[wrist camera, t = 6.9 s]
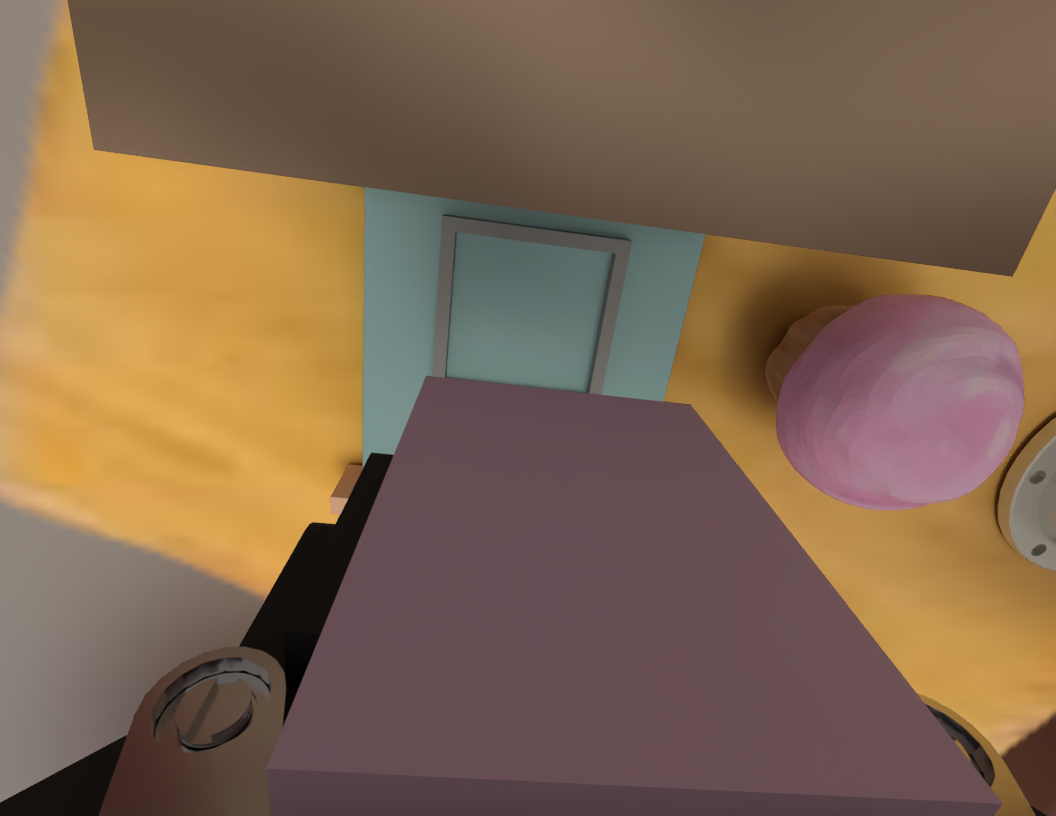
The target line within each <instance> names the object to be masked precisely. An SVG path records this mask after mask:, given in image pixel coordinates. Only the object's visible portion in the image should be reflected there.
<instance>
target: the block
mask: <svg viewBox="0 0 1056 816" xmlns="http://www.w3.org/2000/svg"><path fill="white" fill-rule="evenodd" d="M266 773H267V783H268V792H269V802H270V811H271V816H994V815H995V813H996V812H997V811H998V810H999V808H1000V807H1001V806H1002V805H1003V803H1002V802H1001V801H1000V799H999V798H998V797H997V795H996V794H995V793H994V792H993V790H992V789H991V788H990V787H989V785H988V784H987V783H986V781H985V780H984V779H983V778H982V776H981V775H980V774H979V772H978V771H977V770H976V769H975V767H974V766H973V765H972V764H971V762H970V761H969V760H968V758H967V757H966V756H965V755H964V753H963V752H962V751H961V749H960V748H959V747H958V746H957V744H956V743H955V742H954V741H953V739H952V738H951V737H950V735H949V734H948V733H947V732H946V730H945V729H944V728H943V727H942V725H941V724H940V723H939V721H938V720H937V719H936V718H935V716H934V715H933V714H932V712H931V711H930V710H929V709H928V707H927V706H926V705H925V704H924V702H923V701H922V700H921V698H920V697H919V696H918V695H917V693H916V692H915V691H914V689H913V688H912V687H911V686H910V684H909V683H908V682H907V681H906V679H905V678H904V677H903V675H902V674H901V673H900V672H899V670H898V669H897V668H896V666H895V665H894V664H893V663H892V661H891V660H890V659H889V658H888V656H887V655H886V654H885V652H884V651H883V650H882V649H881V647H880V646H879V645H878V643H877V642H876V641H875V640H874V638H873V637H872V636H871V635H870V633H869V632H868V631H867V629H866V628H865V627H864V626H863V624H862V623H861V622H860V621H859V619H858V618H857V617H856V615H855V614H854V613H853V612H852V610H851V609H850V608H849V606H848V605H847V604H846V603H845V601H844V600H843V599H842V598H841V596H840V595H839V594H838V592H837V591H836V590H835V589H834V587H833V586H832V585H831V583H830V582H829V581H828V580H827V578H826V577H825V576H824V575H823V573H822V572H821V571H820V569H819V568H818V567H817V566H816V564H815V563H814V562H813V560H812V559H811V558H810V557H809V555H808V554H807V553H806V552H805V550H804V549H803V548H802V546H801V545H800V544H799V543H798V541H797V540H796V539H795V537H794V536H793V535H792V534H791V532H790V531H789V530H788V529H787V527H786V526H785V525H784V523H783V522H782V521H781V520H780V518H779V517H778V516H777V515H776V513H775V512H774V511H773V509H772V508H771V507H770V506H769V504H768V503H767V502H766V500H765V499H764V498H763V497H762V495H761V494H760V493H759V492H758V490H757V489H756V488H755V486H754V485H753V484H752V483H751V481H750V480H749V479H748V477H747V476H746V475H745V474H744V472H743V471H742V470H741V469H740V467H739V466H738V465H737V463H736V462H735V461H734V460H733V458H732V457H731V456H730V454H729V453H728V452H727V451H726V449H725V448H724V447H723V446H722V444H721V443H720V442H719V440H718V439H717V438H716V437H715V435H714V434H713V433H712V432H711V430H710V429H709V428H708V426H707V425H706V424H705V423H704V421H703V420H702V419H701V417H700V416H699V415H698V414H697V412H696V411H695V410H694V409H693V407H692V406H691V405H690V404H681V403H672V402H663V401H653V400H644V399H635V398H626V397H617V396H608V395H599V394H590V393H581V392H571V391H562V390H553V389H544V388H535V387H526V386H517V385H508V384H499V383H489V382H480V381H471V380H462V379H453V378H444V377H435V376H426V377H425V380H424V382H423V385H422V387H421V389H420V392H419V394H418V397H417V399H416V402H415V404H414V407H413V409H412V412H411V414H410V416H409V419H408V421H407V424H406V426H405V429H404V431H403V434H402V436H401V439H400V441H399V443H398V446H397V448H396V451H395V453H394V456H393V458H392V461H391V463H390V466H389V468H388V470H387V473H386V475H385V478H384V480H383V483H382V485H381V488H380V490H379V493H378V495H377V497H376V500H375V502H374V505H373V507H372V510H371V512H370V515H369V517H368V520H367V522H366V524H365V527H364V529H363V532H362V534H361V537H360V539H359V542H358V544H357V547H356V549H355V551H354V554H353V556H352V559H351V561H350V564H349V566H348V569H347V571H346V574H345V576H344V578H343V581H342V583H341V586H340V588H339V591H338V593H337V596H336V598H335V601H334V603H333V605H332V608H331V610H330V613H329V615H328V618H327V620H326V623H325V625H324V628H323V630H322V632H321V635H320V637H319V640H318V642H317V645H316V647H315V650H314V652H313V655H312V657H311V659H310V662H309V664H308V667H307V669H306V672H305V674H304V677H303V679H302V682H301V684H300V686H299V689H298V691H297V694H296V696H295V699H294V701H293V704H292V706H291V709H290V711H289V713H288V716H287V718H286V721H285V723H284V726H283V728H282V731H281V733H280V736H279V738H278V740H277V743H276V745H275V748H274V750H273V753H272V755H271V758H270V760H269V763H268V765H267V767H266Z"/></svg>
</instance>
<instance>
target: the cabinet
mask: <svg viewBox="0 0 1056 816" xmlns="http://www.w3.org/2000/svg"><path fill="white" fill-rule="evenodd" d="M68 5H69V11H70V17H71V22H72V28H73V34H74V39H75V45H76V51H77V56H78V62H79V68H80V74H81V79H82V85H83V91H84V96H85V102H86V108H87V113H88V119H89V125H90V130H91V136H92V142H93V147H94V150H99V151H106V152H114V153H121V154H128V155H135V156H143V157H150V158H157V159H164V160H172V161H179V162H186V163H193V164H201V165H208V166H215V167H222V168H230V169H237V170H244V171H251V172H258V173H266V174H273V175H280V176H287V177H295V178H302V179H309V180H316V181H324V182H331V183H338V184H345V185H353V186H360V187H367V188H374V189H382V190H389V191H396V192H403V193H411V194H418V195H425V196H432V197H440V198H447V199H454V200H461V201H469V202H476V203H483V204H490V205H498V206H505V207H512V208H519V209H527V210H534V211H541V212H548V213H556V214H563V215H570V216H577V217H585V218H592V219H599V220H606V221H614V222H621V223H628V224H635V225H643V226H650V227H657V228H664V229H672V230H679V231H686V232H693V233H701V234H708V235H715V236H722V237H730V238H737V239H744V240H751V241H759V242H766V243H773V244H780V245H788V246H795V247H802V248H809V249H817V250H824V251H831V252H838V253H846V254H853V255H860V256H867V257H875V258H882V259H889V260H896V261H904V262H911V263H918V264H925V265H933V266H940V267H947V268H954V269H962V270H969V271H976V272H983V273H991V274H998V275H1005V276H1012V277H1013V275H1014V273H1015V271H1016V269H1017V266H1018V264H1019V262H1020V260H1021V258H1022V256H1023V254H1024V252H1025V250H1026V248H1027V246H1028V244H1029V242H1030V240H1031V238H1032V236H1033V234H1034V232H1035V230H1036V228H1037V225H1038V223H1039V221H1040V219H1041V217H1042V215H1043V213H1044V211H1045V209H1046V207H1047V205H1048V203H1049V201H1050V199H1051V197H1052V195H1053V193H1054V191H1055V189H1056V0H68Z"/></svg>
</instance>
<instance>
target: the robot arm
mask: <svg viewBox="0 0 1056 816" xmlns="http://www.w3.org/2000/svg"><path fill="white" fill-rule="evenodd" d="M393 456H394V455H392V454H382V453H371V454H370V455H369V457H368V459H367V461H366V463H365V465H364V467H363V470H362V472H361V474H360V476H359V478H358V480H357V482H356V484H355V486H354V488H353V490H352V492H351V494H350V496H349V498H348V500H347V502H346V504H345V506H344V508H343V510H342V512H341V514H340V516H339V518H338V520H337V522H336V524H326V523H315V522H313V523H311V524H309V526H308V527H307V528H306V530H305V531H304V533H303V535H302V537H301V538H300V540H299V542H298V544H297V545H296V547H295V549H294V551H293V553H292V554H291V556H290V558H289V560H288V561H287V563H286V565H285V567H284V568H283V570H282V572H281V574H280V575H279V577H278V579H277V581H276V582H275V584H274V586H273V588H272V589H271V591H270V593H269V595H268V597H267V598H266V600H265V602H264V604H263V605H262V607H261V609H260V611H259V612H258V614H257V616H256V618H255V619H254V621H253V623H252V625H251V626H250V628H249V630H248V632H247V633H246V635H245V637H244V639H243V641H242V642H241V644H240V646H239V647H225V648H221V649H217V650H213V651H209V652H206V653H202V654H200V655H198V656H196V657H194V658H191V659H189V660H187V661H185V662H183V663H181V664H179V665H178V666H177V667H175V668H174V669H172V670H171V671H170V672H168V673H167V674H165V675H164V676H163V677H161V678H160V679H159V680H158V681H157V683H156V684H155V685H154V686H153V687H152V688H151V689H150V690H149V691H148V692H147V693H146V694H145V696H144V698H143V700H142V701H141V704H140V705H139V707H138V709H137V711H136V713H135V714H134V717H133V720H132V723H131V726H130V729H129V731H128V734H127V735H126V736H124V737H122V738H120V739H118V740H117V741H115V742H113V743H111V744H109V745H107V746H105V747H103V748H102V749H100V750H98V751H96V752H94V753H92V754H90V755H89V756H87V757H85V758H83V759H81V760H79V761H77V762H76V763H74V764H72V765H70V766H68V767H66V768H64V769H62V770H61V771H59V772H57V773H55V774H53V775H51V776H49V777H47V778H46V779H44V780H42V781H40V782H38V783H36V784H34V785H33V786H30V787H29V788H27V789H25V790H23V791H21V792H19V793H17V794H16V795H14V796H12V797H10V798H8V799H6V800H4V801H3V802H1V803H0V816H271V811H270V802H269V792H268V783H267V773H266V767H267V765H268V763H269V760H270V758H271V755H272V753H273V750H274V748H275V745H276V743H277V740H278V738H279V736H280V733H281V731H282V728H283V726H284V723H285V721H286V718H287V716H288V713H289V711H290V709H291V706H292V704H293V701H294V699H295V696H296V694H297V691H298V689H299V686H300V684H301V682H302V679H303V677H304V674H305V672H306V669H307V667H308V664H309V662H310V659H311V657H312V655H313V652H314V650H315V647H316V645H317V642H318V640H319V637H320V635H321V632H322V630H323V628H324V625H325V623H326V620H327V618H328V615H329V613H330V610H331V608H332V605H333V603H334V601H335V598H336V596H337V593H338V591H339V588H340V586H341V583H342V581H343V578H344V576H345V574H346V571H347V569H348V566H349V564H350V561H351V559H352V556H353V554H354V551H355V549H356V547H357V544H358V542H359V539H360V537H361V534H362V532H363V529H364V527H365V524H366V522H367V520H368V517H369V515H370V512H371V510H372V507H373V505H374V502H375V500H376V497H377V495H378V493H379V490H380V488H381V485H382V483H383V480H384V478H385V475H386V473H387V470H388V468H389V466H390V463H391V461H392V458H393ZM998 523H999V525H1000V528H1001V531H1002V534H1003V536H1004V538H1005V539H1006V540H1007V542H1008V543H1009V544H1010V546H1011V547H1012V548H1014V549H1015V550H1016V551H1017V552H1019V553H1020V554H1021V555H1022V556H1024V557H1025V558H1026V559H1028V560H1029V561H1031V562H1033V563H1034V564H1036V565H1038V566H1040V567H1042V568H1045V569H1049V570H1052V571H1056V417H1055V418H1054V419H1052V420H1051V421H1050V422H1049V423H1048V424H1047V425H1046V426H1045V427H1043V428H1042V429H1041V430H1040V431H1039V432H1038V433H1037V434H1036V435H1035V436H1034V437H1033V438H1032V439H1031V440H1030V441H1029V443H1028V444H1027V445H1026V446H1025V447H1024V448H1023V450H1022V451H1021V452H1020V453H1019V455H1018V456H1017V458H1016V459H1015V461H1014V463H1013V464H1012V466H1011V468H1010V469H1009V471H1008V473H1007V475H1006V478H1005V480H1004V483H1003V485H1002V488H1001V491H1000V496H999V502H998ZM917 695H918V696H919V697H920V698H921V700H922V701H923V702H924V704H925V705H926V706H927V707H928V709H929V710H930V711H931V712H932V714H933V715H934V716H935V718H936V719H937V720H938V721H939V723H940V724H941V725H942V727H943V728H944V729H945V730H946V732H947V733H948V734H949V735H950V737H951V738H952V739H953V741H954V742H955V743H956V744H957V746H958V747H959V748H960V749H961V751H962V752H963V753H964V755H965V756H966V757H967V758H968V760H969V761H970V762H971V764H972V765H973V766H974V767H975V769H976V770H977V771H978V772H979V774H980V775H981V776H982V778H983V779H984V780H985V781H986V783H987V784H988V785H989V787H990V788H991V789H992V790H993V792H994V793H995V794H996V795H997V797H998V798H999V799H1000V801H1001V802H1002V803H1003V805H1002V806H1001V807H1000V808H999V810H998V811H997V812H996V813H995V815H994V816H1047V815H1045V814H1043V813H1042V812H1040V811H1039V810H1037V809H1035V808H1034V807H1032V806H1031V805H1029V803H1028V802H1027V800H1026V799H1025V797H1024V795H1023V793H1022V791H1021V790H1020V788H1019V786H1018V785H1017V783H1016V781H1015V780H1014V778H1013V776H1012V775H1011V773H1010V771H1009V769H1008V768H1007V766H1006V764H1005V763H1004V761H1003V760H1002V758H1001V757H1000V755H999V754H998V753H997V751H996V750H995V749H994V747H993V746H992V745H991V743H990V742H989V741H988V740H987V739H986V738H985V737H984V736H983V735H982V734H981V733H980V732H979V731H978V730H977V729H976V728H975V727H974V726H973V725H971V724H970V723H969V722H967V721H966V720H965V719H963V718H962V717H961V716H959V715H958V714H957V713H955V712H954V711H953V710H951V709H949V708H947V707H945V706H944V705H942V704H940V703H938V702H937V701H935V700H933V699H931V698H928V697H925V696H923V695H920V694H918V693H917Z"/></svg>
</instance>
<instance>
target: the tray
mask: <svg viewBox="0 0 1056 816" xmlns="http://www.w3.org/2000/svg"><path fill="white" fill-rule="evenodd" d="M705 235H706V234H701V233H693V232H686V231H679V230H672V229H664V228H657V227H650V226H643V225H635V224H628V223H621V222H614V221H606V220H599V219H592V218H585V217H577V216H570V215H563V214H556V213H548V212H541V211H534V210H527V209H519V208H512V207H505V206H498V205H490V204H483V203H476V202H469V201H461V200H454V199H447V198H440V197H432V196H425V195H418V194H411V193H403V192H396V191H389V190H382V189H374V188H367V187H365V231H364V361H363V466H361V465H350V464H349V465H348V466H347V468H346V470H345V472H344V474H343V475H342V477H341V479H340V481H339V483H338V484H337V486H336V488H335V490H334V492H333V493H332V495H331V514H339V515H340V514H341V512H342V510H343V508H344V506H345V504H346V502H347V500H348V498H349V496H350V494H351V492H352V490H353V488H354V486H355V484H356V482H357V480H358V478H359V476H360V474H361V472H362V470H363V467H364V465H365V463H366V461H367V459H368V457H369V455H370V454H371V453H382V454H392V455H394V453H395V451H396V448H397V446H398V443H399V441H400V439H401V436H402V434H403V431H404V429H405V426H406V424H407V421H408V419H409V416H410V414H411V412H412V409H413V407H414V404H415V402H416V399H417V397H418V394H419V392H420V389H421V387H422V385H423V382H424V380H425V377H426V376H435V377H444V378H453V379H462V380H471V381H480V382H489V383H499V384H508V385H517V386H526V387H535V388H544V389H553V390H562V391H571V392H581V393H590V394H599V395H608V396H617V397H626V398H635V399H644V400H653V401H664V397H665V393H666V389H667V385H668V381H669V377H670V373H671V369H672V365H673V361H674V358H675V354H676V350H677V346H678V342H679V338H680V334H681V330H682V326H683V322H684V318H685V314H686V310H687V306H688V302H689V298H690V294H691V290H692V286H693V282H694V278H695V274H696V270H697V266H698V263H699V259H700V255H701V251H702V247H703V243H704V239H705Z"/></svg>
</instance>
